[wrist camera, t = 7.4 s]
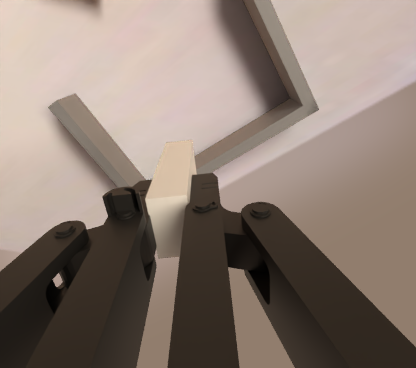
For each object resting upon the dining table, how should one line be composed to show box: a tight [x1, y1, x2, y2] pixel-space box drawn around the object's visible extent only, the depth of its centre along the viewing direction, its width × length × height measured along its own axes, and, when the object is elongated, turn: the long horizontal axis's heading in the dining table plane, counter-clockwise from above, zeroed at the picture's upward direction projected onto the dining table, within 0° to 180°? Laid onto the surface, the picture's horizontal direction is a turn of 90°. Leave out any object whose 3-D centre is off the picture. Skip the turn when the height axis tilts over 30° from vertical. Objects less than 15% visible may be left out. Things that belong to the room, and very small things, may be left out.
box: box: [48, 0, 319, 188], centre depth 30 cm, size 14×22×4 cm, turn 122°
